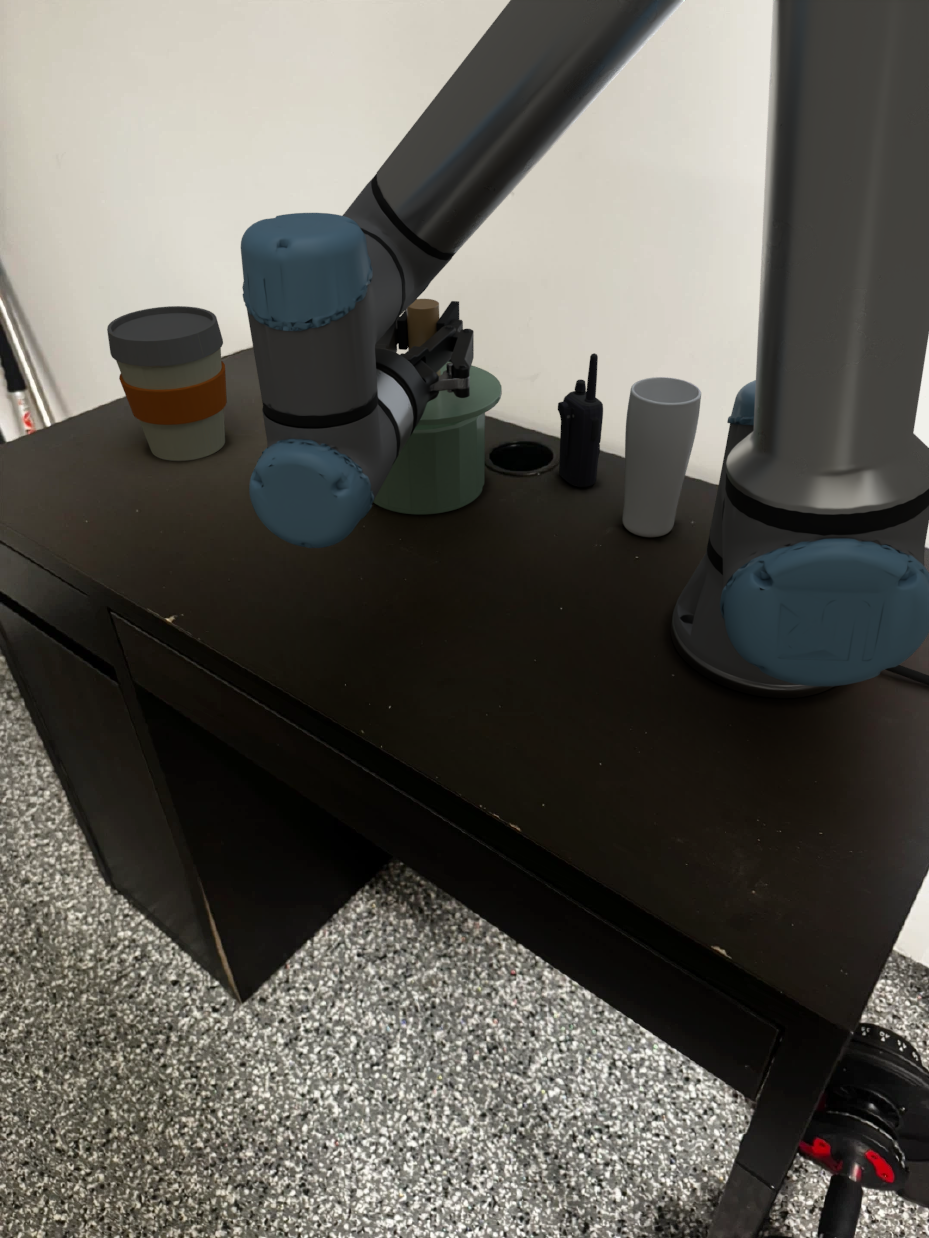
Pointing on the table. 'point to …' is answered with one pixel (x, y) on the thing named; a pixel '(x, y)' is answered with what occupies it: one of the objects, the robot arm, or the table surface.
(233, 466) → the table surface
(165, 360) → the reusable coffee cup
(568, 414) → the two-way radio
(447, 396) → the lid
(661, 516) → the drinking glass
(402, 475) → the pot
